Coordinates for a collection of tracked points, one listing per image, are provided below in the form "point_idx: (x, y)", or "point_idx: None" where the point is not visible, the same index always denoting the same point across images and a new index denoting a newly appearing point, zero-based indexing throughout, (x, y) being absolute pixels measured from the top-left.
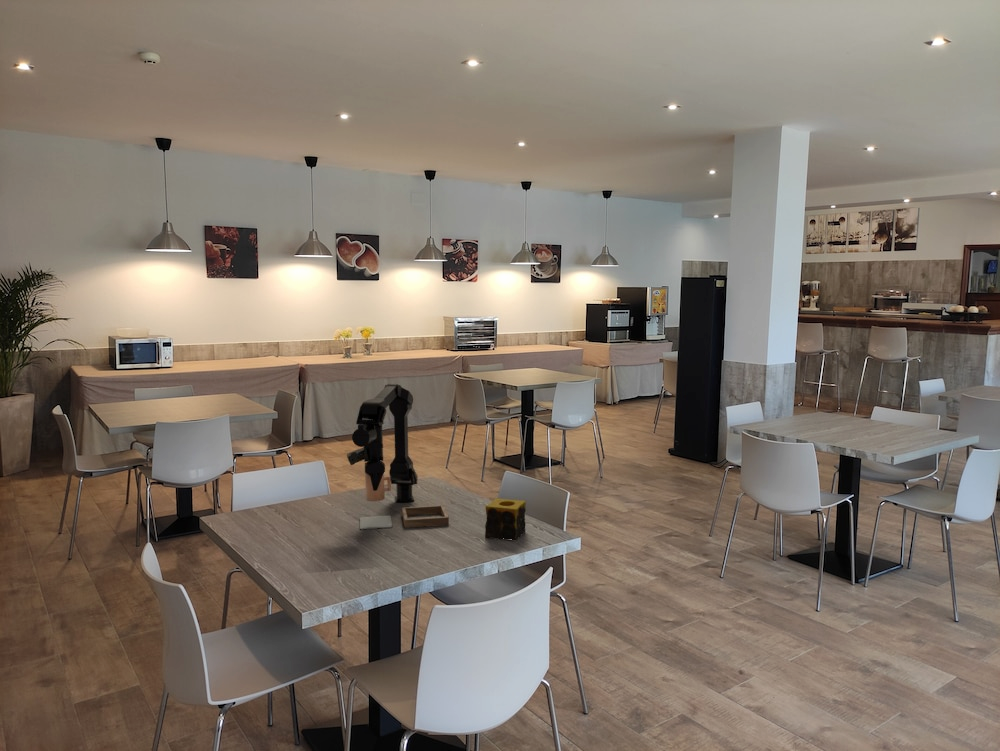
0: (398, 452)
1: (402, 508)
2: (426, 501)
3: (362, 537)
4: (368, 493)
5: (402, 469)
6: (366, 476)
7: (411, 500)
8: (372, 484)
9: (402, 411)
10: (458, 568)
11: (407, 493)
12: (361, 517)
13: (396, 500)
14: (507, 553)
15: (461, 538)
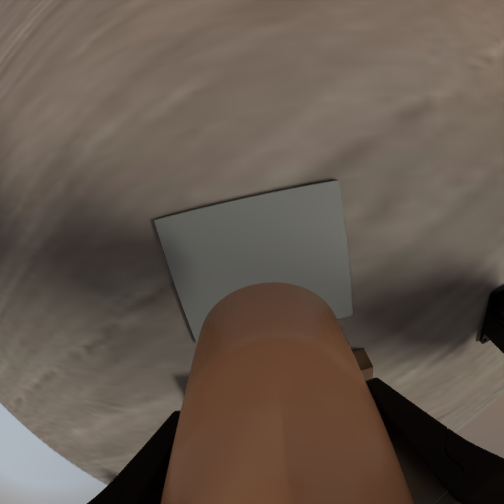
0: None
1: (362, 371)
2: (467, 370)
3: (76, 250)
4: (197, 351)
5: None
6: (183, 498)
7: (482, 337)
8: (137, 455)
9: None
10: (25, 425)
11: (497, 343)
12: (336, 189)
13: (498, 293)
14: (104, 480)
15: None
